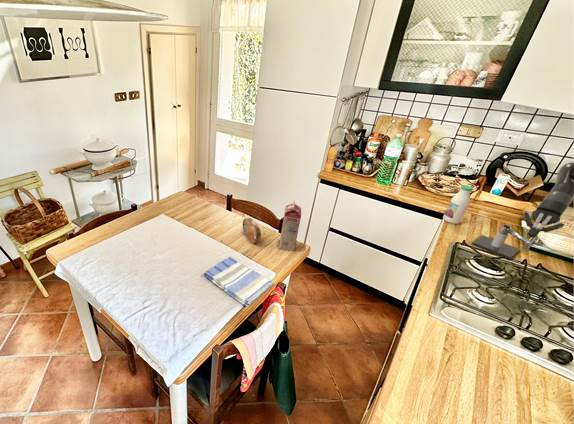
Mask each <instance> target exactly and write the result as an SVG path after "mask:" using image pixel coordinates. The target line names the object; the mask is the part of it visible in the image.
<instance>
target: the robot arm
mask: <svg viewBox="0 0 574 424" xmlns="http://www.w3.org/2000/svg"><path fill="white" fill-rule="evenodd" d="M557 172H558V173H557V177H556V181H555V184H554V186H553V187H552V188H551V190H550V191H549V192H548V194H546V195H545V196H544V198H543V199H542V201H540V204H539V205H538V206H537V208H536V209H535V210H532V212H528V211H525V212H524V213H523V215H522V217H523V219H524V221H525V224H526V227H528V228H530V229H529V231H528V232H527V235H528V238H536V237H538V235H539V234H540V233H542V232H544V233H549V232H553V231H557V230H561V229H562V228H564V226H565V224H564V223H562V222H561V217H562V216H563V214H564V213H565V211H566V210H567V209H568V208H569V206H570V204H571V203H572V201H573V199H574V162H568V163H565V164H563V165H562V166H561V167H560V168H559V170H558V171H557ZM531 218H532V219H533V221H534V223H533V222H532V219H531Z"/></svg>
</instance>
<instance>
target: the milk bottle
mask: <svg viewBox="0 0 574 424" xmlns="http://www.w3.org/2000/svg"><path fill="white" fill-rule="evenodd" d="M473 189H474V188H473V186H470V185H466V184H463V185H461V186H460V188H459V191H458V192H457V193H456V194H454V195H453V196H452V198H451V199H450V201H449V203H448V206H447V208H446V210H445V211H444V213H443V216H442V220H443V221H445V222H447V223H449V224H453V225H457V224H458V225H459V224H460V223H461V222H462V220H463V218H464V216H465V214H466V212H467V211H468V207H469V205H470V203H471V193H472V191H473Z"/></svg>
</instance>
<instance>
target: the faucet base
mask: <svg viewBox="0 0 574 424" xmlns="http://www.w3.org/2000/svg"><path fill="white" fill-rule="evenodd" d="M508 236H509V234H508V235H503V234H501V233H499V230H498V231H497V232H496V234H495V236H494V238H492V237H489V236H486V235H484V234H481V235H480V236H478V238H476V239H475V240H474V241H472V242H471V245H472V246H474V247H476V248H480V249H482V250H485V251H487V252H489V253H492V254H494V255H497V256H499V257H502V258H504V257H505V259H507V258H508V259H507V260H509V259H510V260H511V259H512V258H513V257H514V256H515V255H516V254H517V253H518V252H519V251H520V248H518V247H515V246H514V245H510V244H508V243H506V242H505V241H506V240H507V238H508Z"/></svg>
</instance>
